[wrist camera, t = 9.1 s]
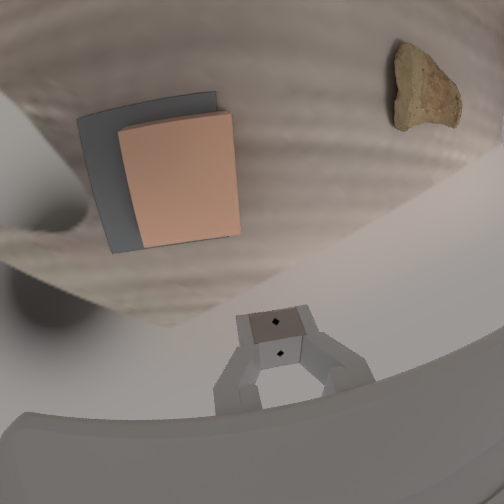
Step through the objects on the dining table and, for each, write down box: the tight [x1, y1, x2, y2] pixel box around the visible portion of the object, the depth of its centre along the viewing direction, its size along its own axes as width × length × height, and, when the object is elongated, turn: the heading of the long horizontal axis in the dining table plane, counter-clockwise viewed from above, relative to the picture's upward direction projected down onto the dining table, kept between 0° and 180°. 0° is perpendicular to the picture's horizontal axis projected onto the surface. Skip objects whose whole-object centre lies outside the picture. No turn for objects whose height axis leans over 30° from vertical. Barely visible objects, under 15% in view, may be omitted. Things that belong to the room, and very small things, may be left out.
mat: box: [77, 92, 229, 254], centre depth 29 cm, size 14×16×1 cm
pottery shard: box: [394, 43, 462, 132], centre depth 25 cm, size 11×4×10 cm
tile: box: [118, 111, 241, 248], centre depth 28 cm, size 3×12×10 cm
